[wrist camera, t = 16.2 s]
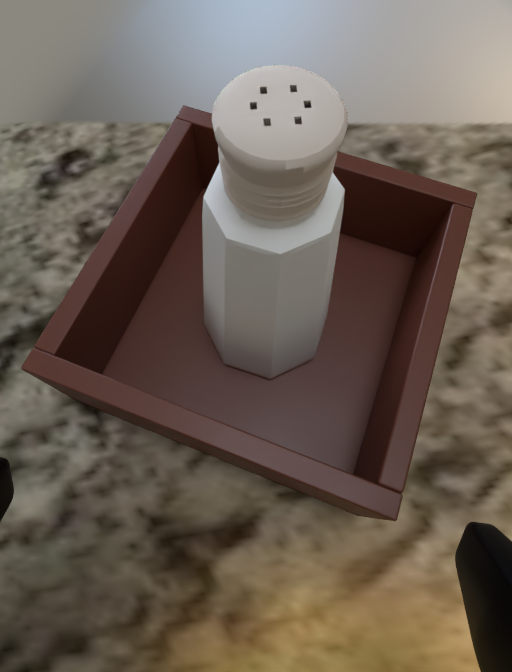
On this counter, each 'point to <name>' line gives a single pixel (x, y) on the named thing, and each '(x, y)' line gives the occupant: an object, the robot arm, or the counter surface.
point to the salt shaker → (272, 218)
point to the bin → (247, 388)
